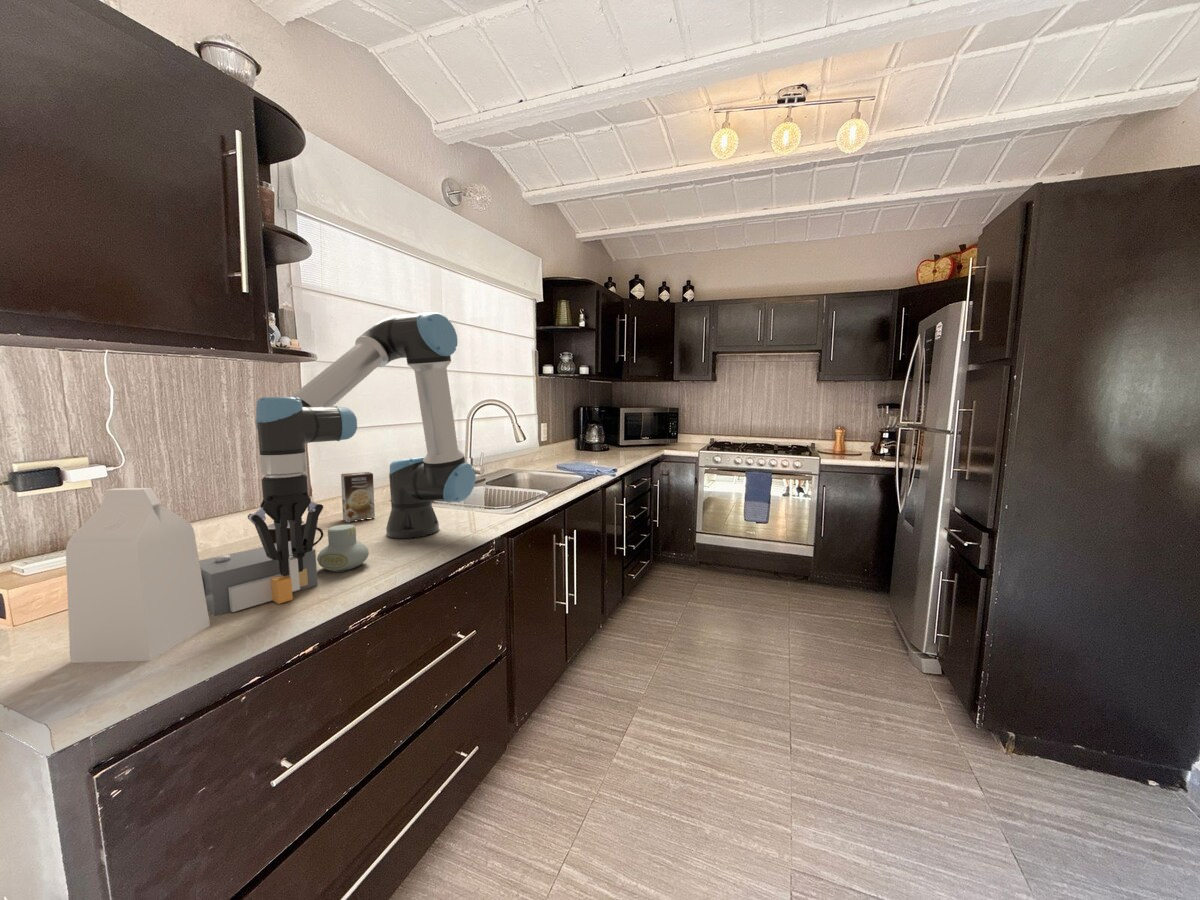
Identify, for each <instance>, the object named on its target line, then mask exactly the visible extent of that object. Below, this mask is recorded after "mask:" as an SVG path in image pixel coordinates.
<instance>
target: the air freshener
mask: <svg viewBox="0 0 1200 900" xmlns="http://www.w3.org/2000/svg"><path fill="white" fill-rule="evenodd" d="M356 529H357V528H356V526H355V525H354V524H339V525H335V526H331V527H328V529H327V538H328V539H327V540H328V541H327V542H328V545H327V546H325V547H323V549H321V550H320V551H319V553H318V555H317V556H316V562H317V563H318V565H319V566H320V567H321V568H322V569H325V570H327V571H331V572H336V573H338V572H339V573H340V572H346V571H349V570H352V569H355V568H357V567H359V566H361V565H362V564H363V563H364V562H365V561H366V560H367V559H368V557H369V553H370V551H369V548H368V547H367V546H366V545H365V544H364V543H362V542H359V541H357V530H356Z"/></svg>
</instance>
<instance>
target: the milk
mask: <svg viewBox="0 0 1200 900" xmlns="http://www.w3.org/2000/svg"><path fill="white" fill-rule="evenodd" d="M65 561H66V562H65V565H66V585H67V586H66V587H67V588H66V589H67V612H68V613H67V614H68V615H67V616H68V637H69V638H68V640H69V659H70V661H69V662H70V664H73V663H76V664H77V663H105V662H106V663H110V662H111V663H112V662H145V661H146V662H151V661H152V660H154V659H156V658H157V657H159V656H161V655H163V654H164V653H166V652H168V651H169V650H171V649H173V648H174V647H177V646H178V645H180V644H181V643H183V642H185V641H187V640H188V639H190V638H191V637H193V636H195V635H197V634H198V633H201V632H202V631H204V630H206V629H207V628H209V627H210V626H211V623H210V618H209V611H208V610H207V604H206V598H205V592H204V586H203V580H202V575H201V569H200V563H199V561H200V558H199V552H198V546H197V541H196V534H195V529H194V527H193V525H192V524H191V523H190V522H189V521H188V520H186V519H185V518H184V517H182V516H180V515H179V514H177V513H175V512H173V510H171V509H169V508H168V507H166V506H164V505H162V504H161V502H160V500H159V499H158V497H157V495H156V493H155V492H154V489H153V488H152V487H132V488H131V487H130V488H129V487H124V488H120V487H119V488H117V487H116V488H109V489H106V490H105V492H104V495H103V499H102V501H101V505H100V507H99V508H98V509H97V510H96V511H95V512H94V513H93V514H92V515H91V516H90V517H89V518H88V519H87V520H86V521H85V522H84V523H83V524H82V525H81V527H79V528H78V530H77V531H75V532H74V533H73V535H72V536H71V537H70V539H69V540H68V541H67V544H66V547H65Z"/></svg>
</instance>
